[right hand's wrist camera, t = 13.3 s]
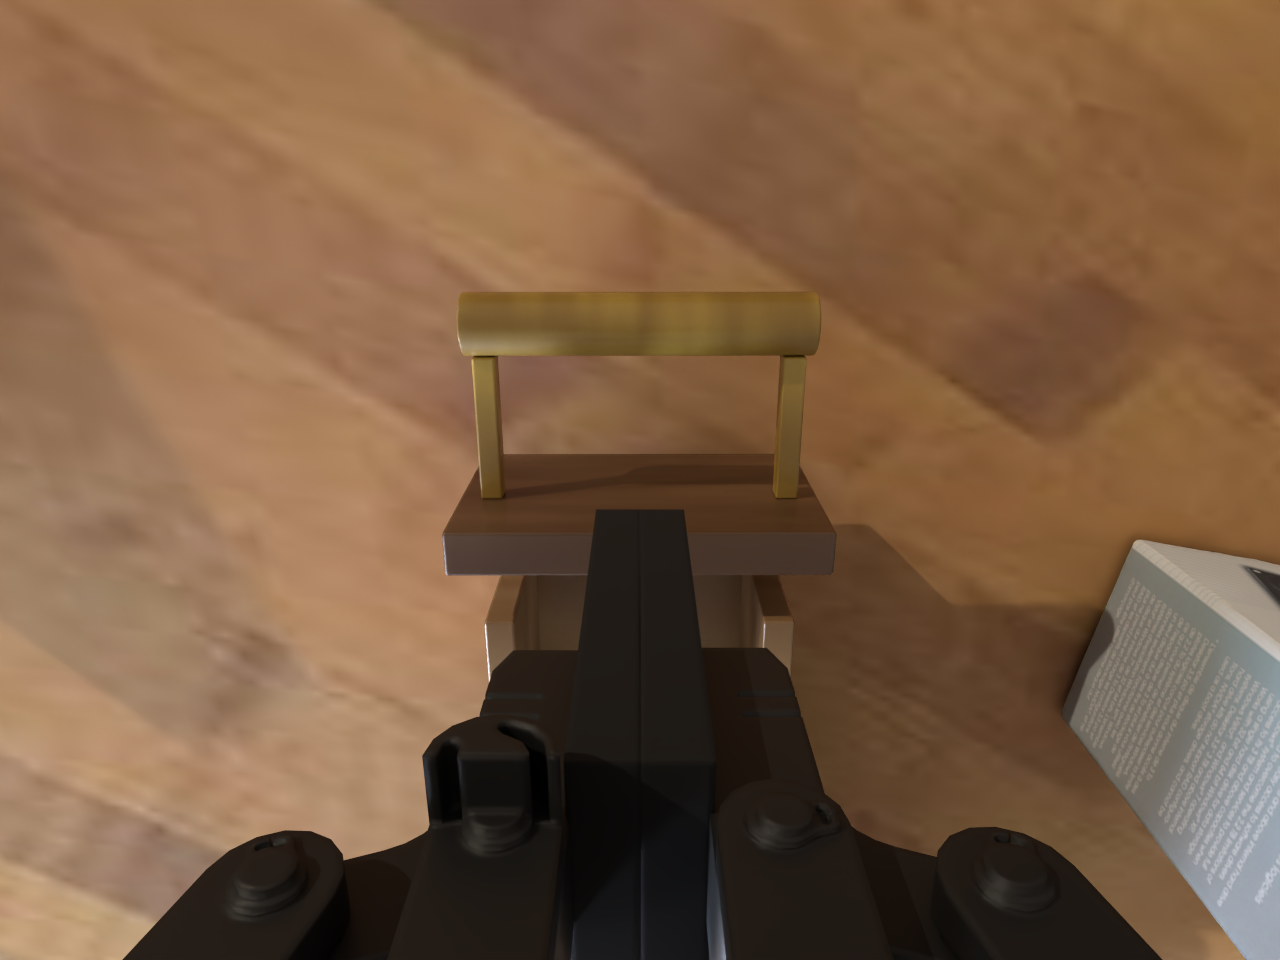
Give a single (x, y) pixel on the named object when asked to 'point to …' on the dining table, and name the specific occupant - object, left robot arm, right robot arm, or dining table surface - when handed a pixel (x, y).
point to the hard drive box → (1195, 723)
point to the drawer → (638, 469)
